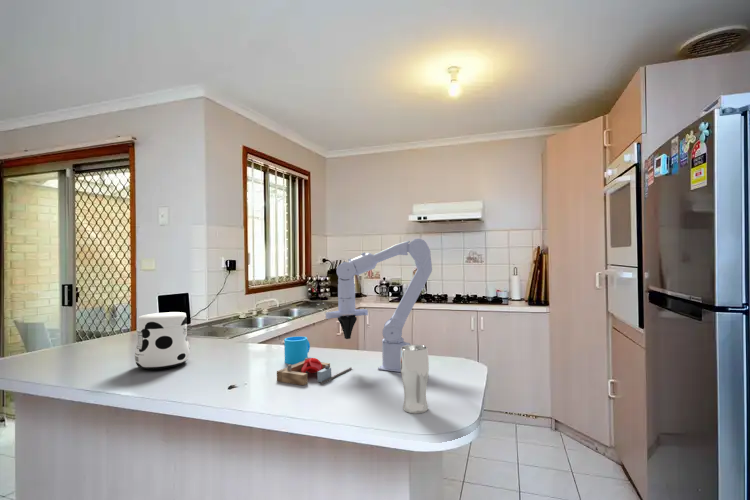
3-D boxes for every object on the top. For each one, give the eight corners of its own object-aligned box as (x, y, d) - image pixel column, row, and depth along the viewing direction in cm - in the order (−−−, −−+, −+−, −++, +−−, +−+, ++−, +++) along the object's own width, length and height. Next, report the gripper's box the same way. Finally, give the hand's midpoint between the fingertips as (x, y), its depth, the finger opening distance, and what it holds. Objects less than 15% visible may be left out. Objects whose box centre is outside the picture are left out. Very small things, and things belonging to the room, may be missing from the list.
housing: (351, 369, 134) (351, 355, 134) (315, 387, 117) (315, 371, 117) (315, 364, 141) (315, 351, 141) (276, 381, 123) (276, 366, 123)
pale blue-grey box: (331, 377, 125) (331, 365, 125) (321, 382, 121) (321, 369, 121) (327, 376, 126) (326, 364, 126) (317, 381, 122) (317, 368, 122)
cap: (324, 369, 124) (325, 354, 129) (305, 364, 123) (307, 350, 128) (316, 386, 128) (317, 371, 133) (298, 381, 126) (300, 367, 131)
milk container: (199, 359, 152) (198, 311, 152) (171, 373, 134) (170, 318, 135) (155, 359, 153) (155, 311, 153) (123, 372, 136) (122, 319, 136)
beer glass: (399, 404, 102) (398, 344, 102) (426, 403, 103) (425, 343, 103) (403, 415, 95) (402, 351, 96) (432, 413, 96) (431, 350, 96)
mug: (298, 365, 141) (297, 341, 141) (279, 362, 145) (279, 340, 145) (318, 357, 152) (317, 335, 152) (300, 355, 155) (300, 333, 155)
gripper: (330, 300, 130) (331, 343, 130) (371, 297, 136) (372, 338, 136) (323, 298, 136) (324, 339, 136) (362, 295, 142) (363, 334, 142)
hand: (347, 338), depth 136 cm, fingers closed
